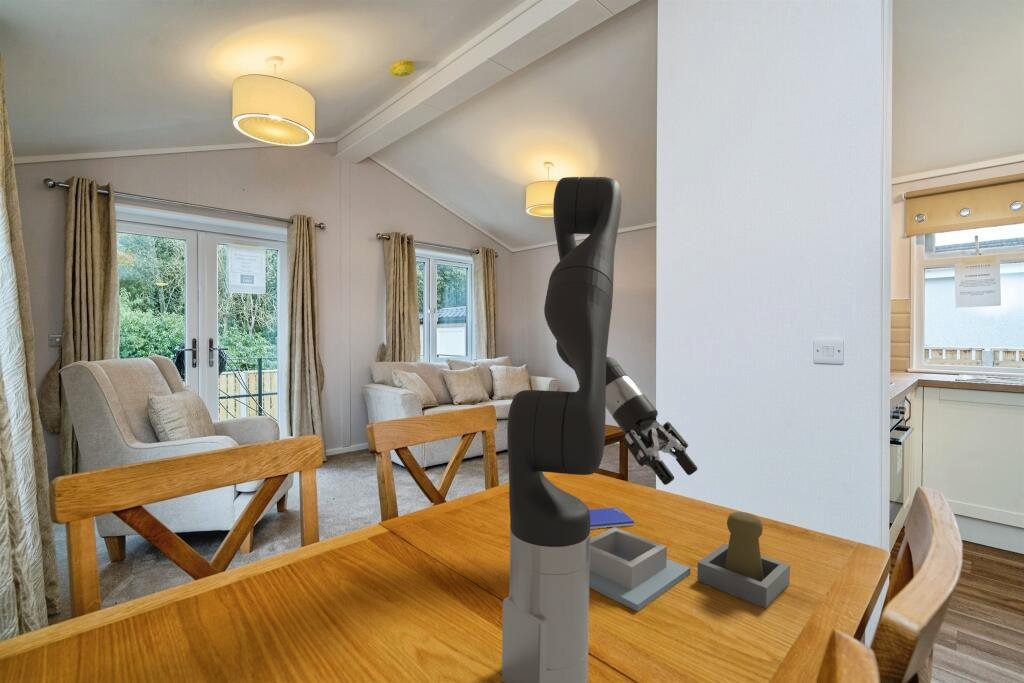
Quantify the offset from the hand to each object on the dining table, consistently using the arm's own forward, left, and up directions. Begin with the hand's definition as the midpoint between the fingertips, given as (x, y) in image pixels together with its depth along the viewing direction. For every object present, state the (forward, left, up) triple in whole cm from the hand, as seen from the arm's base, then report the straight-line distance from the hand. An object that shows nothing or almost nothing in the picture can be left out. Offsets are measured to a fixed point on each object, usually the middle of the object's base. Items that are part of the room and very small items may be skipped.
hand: (682, 477), depth 84 cm
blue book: (+3, +20, -15) cm, 26 cm away
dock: (-12, +4, -15) cm, 19 cm away
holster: (0, -11, -15) cm, 18 cm away
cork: (0, -11, -15) cm, 18 cm away
